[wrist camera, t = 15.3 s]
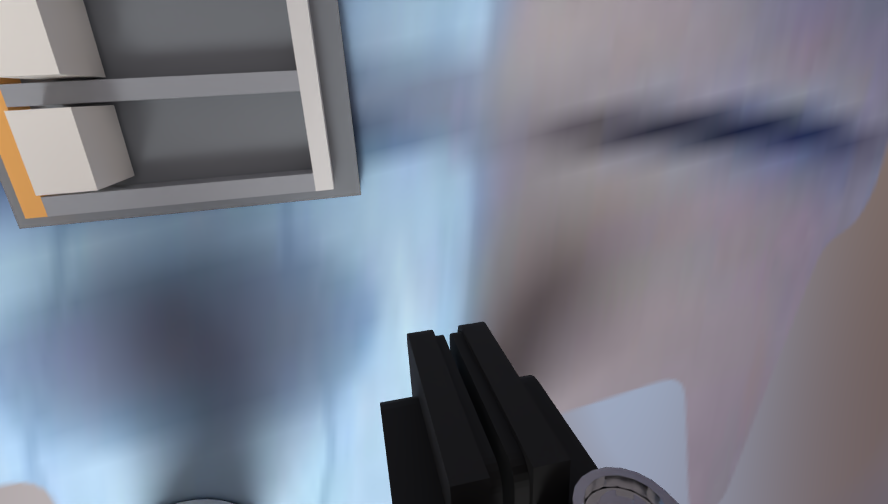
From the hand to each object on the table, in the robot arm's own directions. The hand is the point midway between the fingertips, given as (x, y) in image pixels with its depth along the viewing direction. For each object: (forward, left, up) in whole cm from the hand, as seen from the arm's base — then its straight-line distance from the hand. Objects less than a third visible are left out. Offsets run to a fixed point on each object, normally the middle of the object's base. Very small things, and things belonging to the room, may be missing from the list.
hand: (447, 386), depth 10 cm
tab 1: (+10, +17, -25) cm, 32 cm away
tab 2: (+4, +17, -25) cm, 30 cm away
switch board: (+7, +12, -27) cm, 30 cm away
